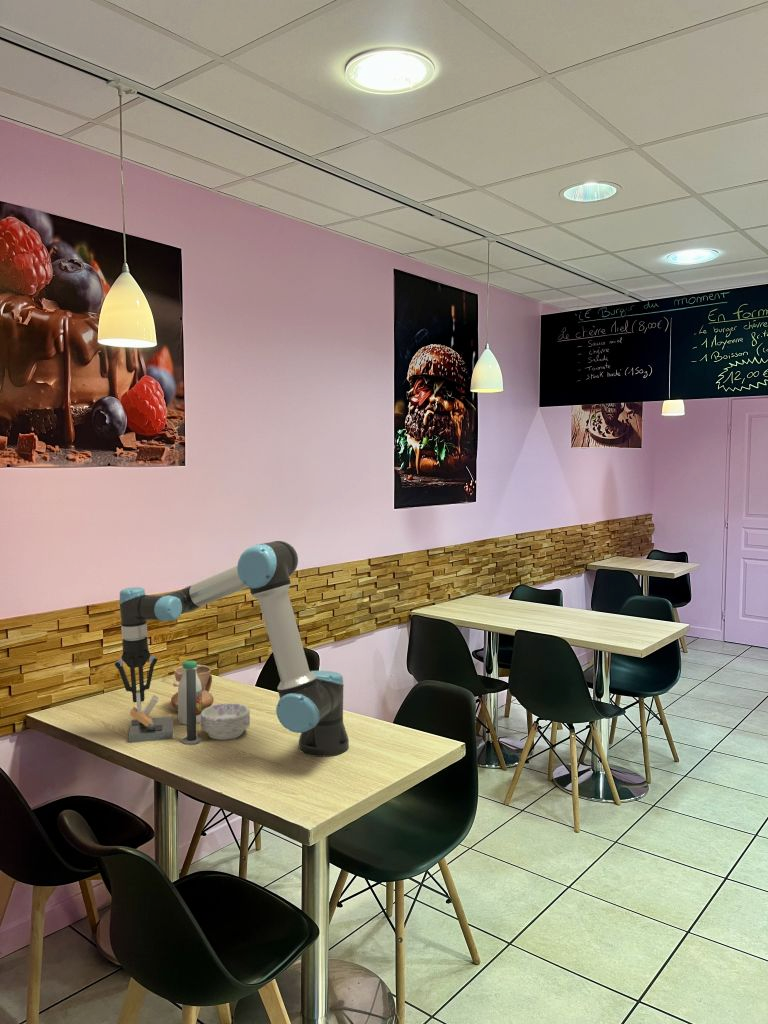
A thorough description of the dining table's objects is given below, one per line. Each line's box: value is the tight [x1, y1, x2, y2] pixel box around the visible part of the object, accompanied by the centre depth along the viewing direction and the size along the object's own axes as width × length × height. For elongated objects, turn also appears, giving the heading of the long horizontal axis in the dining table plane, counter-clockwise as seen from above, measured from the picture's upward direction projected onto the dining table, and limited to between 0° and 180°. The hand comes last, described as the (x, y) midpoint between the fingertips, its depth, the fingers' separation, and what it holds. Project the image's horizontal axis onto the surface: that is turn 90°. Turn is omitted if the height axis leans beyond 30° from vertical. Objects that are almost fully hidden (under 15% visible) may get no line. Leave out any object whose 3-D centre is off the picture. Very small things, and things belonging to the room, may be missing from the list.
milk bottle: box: [177, 660, 203, 726], centre depth 251 cm, size 8×8×20 cm
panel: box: [128, 716, 174, 743], centre depth 241 cm, size 14×13×3 cm
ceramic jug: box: [170, 664, 215, 711], centre depth 265 cm, size 18×14×14 cm
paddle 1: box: [140, 694, 159, 723], centre depth 244 cm, size 5×2×8 cm
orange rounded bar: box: [129, 706, 155, 730], centre depth 237 cm, size 5×2×8 cm
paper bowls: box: [200, 702, 251, 741], centre depth 239 cm, size 15×15×8 cm
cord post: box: [181, 669, 203, 746], centre depth 233 cm, size 6×6×22 cm
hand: (139, 711), depth 237 cm, fingers closed
